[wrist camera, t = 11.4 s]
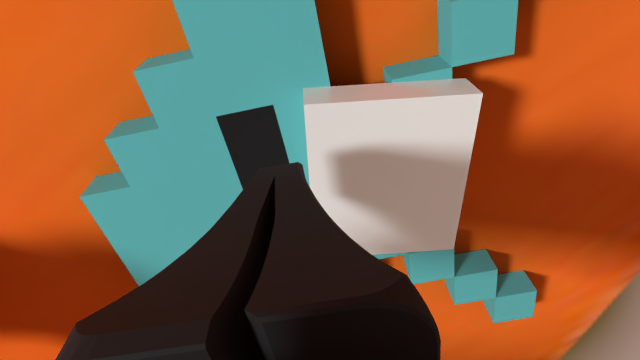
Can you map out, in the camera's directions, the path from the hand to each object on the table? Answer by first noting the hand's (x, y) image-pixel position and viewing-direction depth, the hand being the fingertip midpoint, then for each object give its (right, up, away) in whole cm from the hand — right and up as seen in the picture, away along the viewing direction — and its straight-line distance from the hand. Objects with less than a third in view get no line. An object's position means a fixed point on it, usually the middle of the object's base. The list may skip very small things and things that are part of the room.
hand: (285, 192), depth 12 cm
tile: (+1, 0, +3) cm, 4 cm away
